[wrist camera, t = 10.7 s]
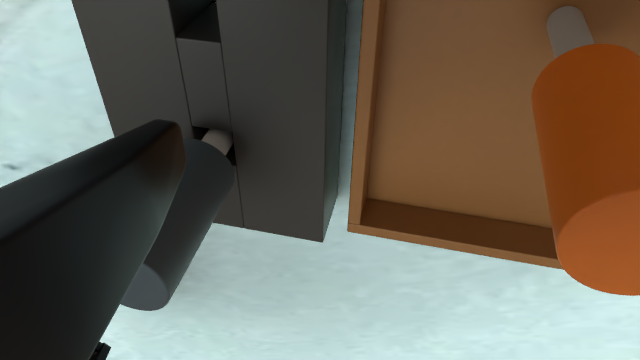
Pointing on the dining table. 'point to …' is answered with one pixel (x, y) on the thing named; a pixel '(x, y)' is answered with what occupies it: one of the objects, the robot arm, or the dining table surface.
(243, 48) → the rack
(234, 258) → the dining table surface
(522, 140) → the tray
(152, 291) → the screwdriver
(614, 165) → the orange-handled tool
